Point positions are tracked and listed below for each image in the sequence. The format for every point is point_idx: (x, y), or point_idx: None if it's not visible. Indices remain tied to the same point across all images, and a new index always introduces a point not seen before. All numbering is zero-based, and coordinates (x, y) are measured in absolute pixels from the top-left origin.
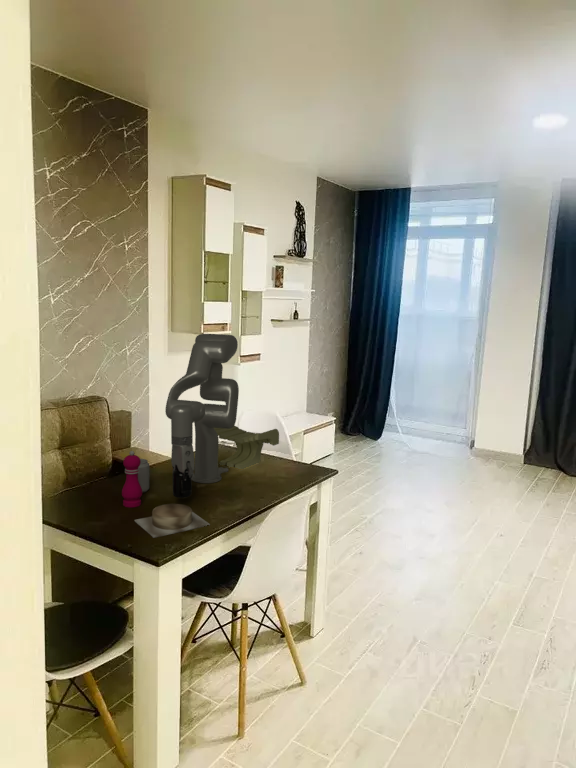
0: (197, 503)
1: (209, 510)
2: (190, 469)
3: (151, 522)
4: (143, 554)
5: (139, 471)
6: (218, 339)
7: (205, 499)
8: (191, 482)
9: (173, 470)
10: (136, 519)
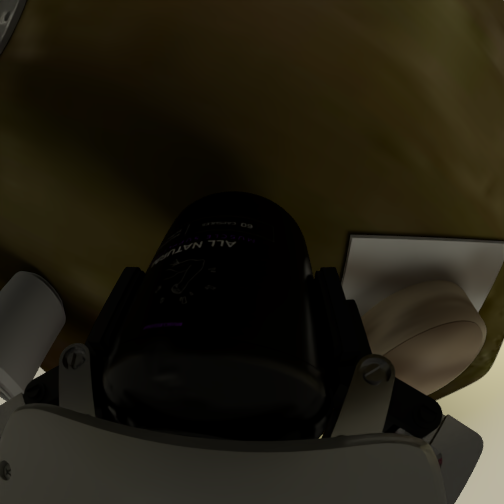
0: (282, 137)
1: (421, 143)
2: (452, 486)
3: None
4: (455, 391)
5: (28, 376)
6: None
7: (237, 57)
8: (286, 269)
9: (105, 409)
10: None
